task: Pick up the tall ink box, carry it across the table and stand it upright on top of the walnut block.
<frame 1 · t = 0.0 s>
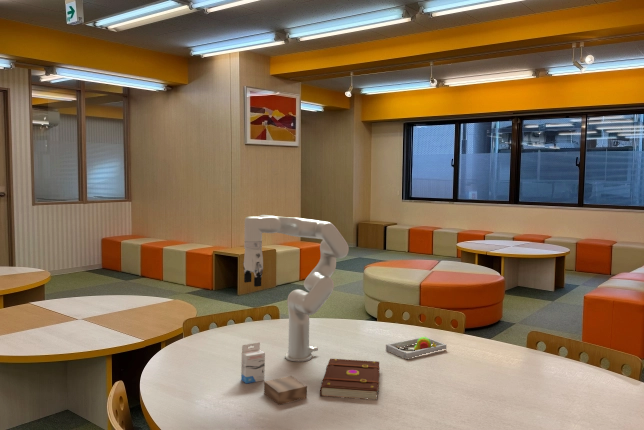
hand: (252, 284, 230), 37 cm above the table, tool pointing down, fingers open, 9 cm apart
book: (351, 383, 218), on the table
grey plastic rim: (416, 350, 259), on the table
ink box: (252, 380, 218), on the table
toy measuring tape: (416, 350, 259), resting in grey plastic rim
walnut block: (285, 396, 203), on the table
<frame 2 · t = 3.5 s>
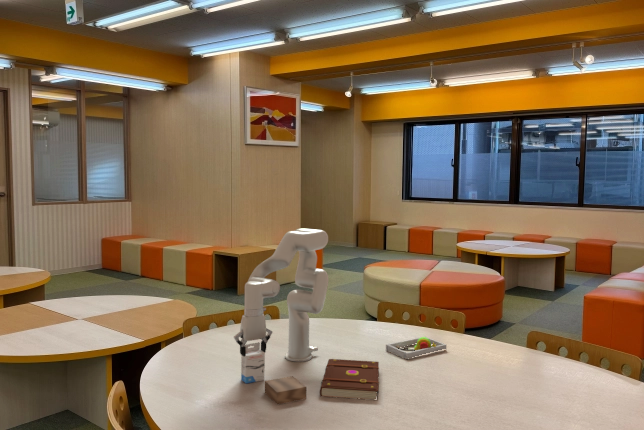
hand: (253, 353, 217), 11 cm above the table, tool pointing down, fingers closed on ink box, 8 cm apart
ink box: (252, 380, 218), on the table, touching gripper
everything else where it was.
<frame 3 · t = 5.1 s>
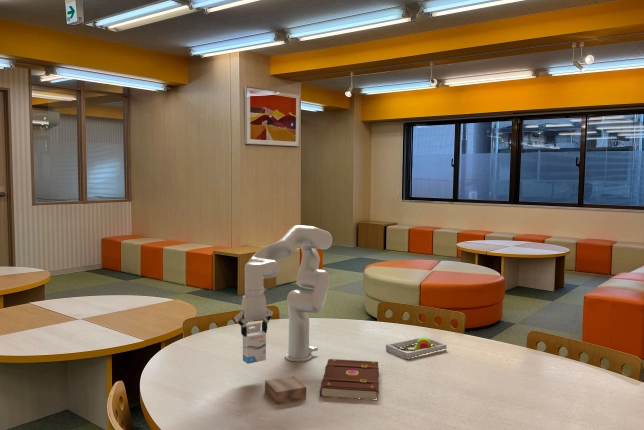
hand: (254, 333, 217), 19 cm above the table, tool pointing down, fingers closed on ink box, 8 cm apart
ink box: (254, 360, 218), point 8 cm above the table, touching gripper
everything else where it was.
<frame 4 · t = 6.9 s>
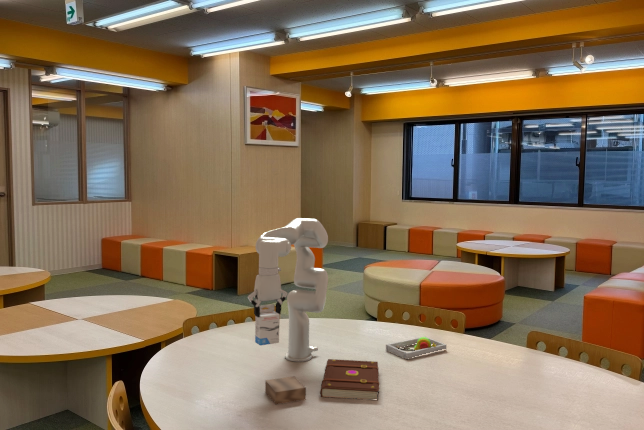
hand: (267, 314, 209), 29 cm above the table, tool pointing down, fingers closed on ink box, 8 cm apart
ink box: (267, 343, 210), point 18 cm above the table, touching gripper
everything else where it was.
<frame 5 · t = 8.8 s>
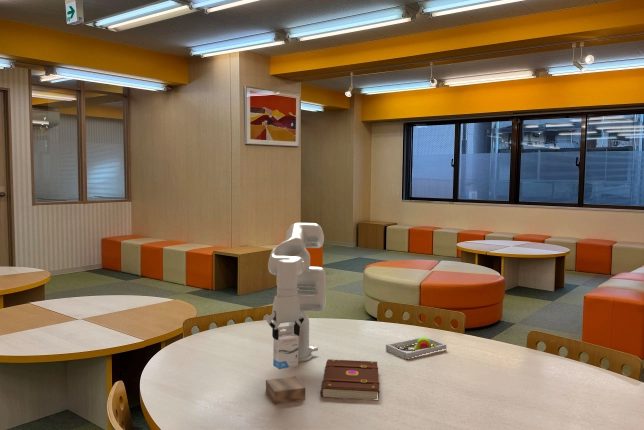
hand: (286, 337, 201), 23 cm above the table, tool pointing down, fingers closed on ink box, 8 cm apart
ink box: (285, 366, 202), point 12 cm above the table, touching gripper
everything else where it was.
when the fingers open (17 cm above the table, at t = 10.5 s): ink box drops 2 cm, resting on walnut block.
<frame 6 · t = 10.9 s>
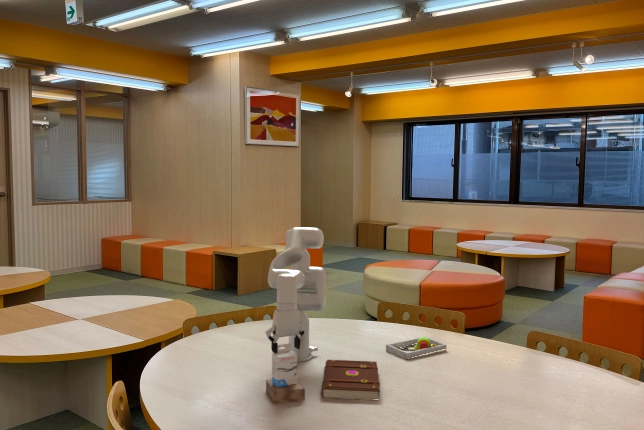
hand: (285, 350, 202), 18 cm above the table, tool pointing down, fingers open, 9 cm apart
ink box: (284, 384, 203), point 4 cm above the table, touching walnut block
walnut block: (285, 396, 203), on the table, touching ink box
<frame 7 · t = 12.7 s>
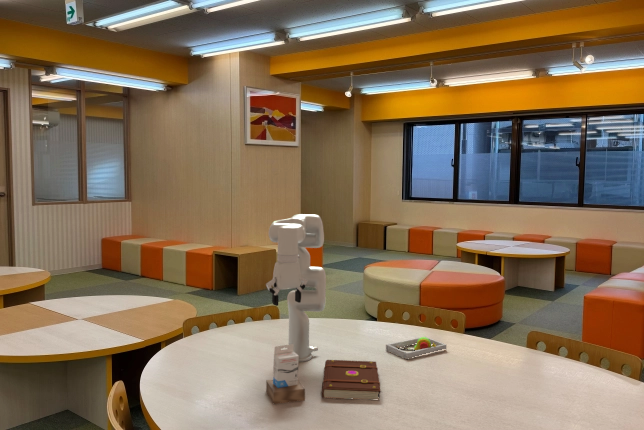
hand: (286, 303, 201), 36 cm above the table, tool pointing down, fingers open, 9 cm apart
ink box: (285, 384, 203), point 4 cm above the table
walnut block: (285, 397, 203), on the table
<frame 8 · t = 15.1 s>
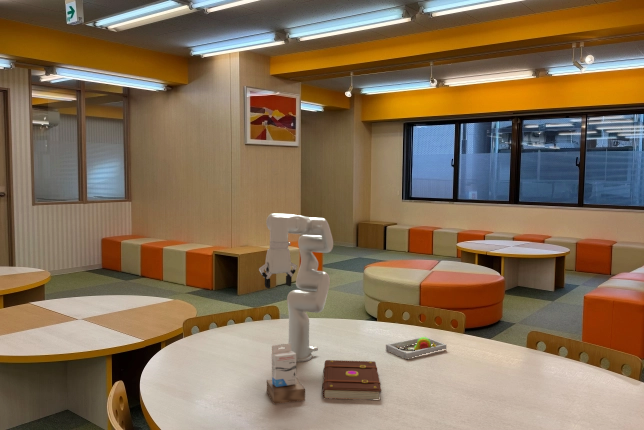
hand: (278, 286, 219), 38 cm above the table, tool pointing down, fingers open, 9 cm apart
at the end: ink box inside the target area on the walnut block (0.8 cm from its centre), point 4.9 cm above the walnut block's base; ink box tilted 2°; the gripper is holding nothing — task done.
